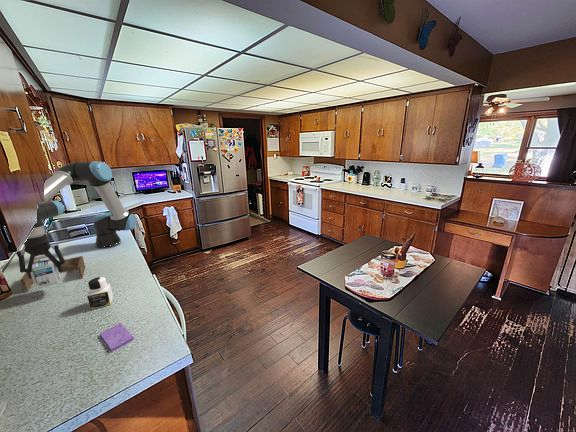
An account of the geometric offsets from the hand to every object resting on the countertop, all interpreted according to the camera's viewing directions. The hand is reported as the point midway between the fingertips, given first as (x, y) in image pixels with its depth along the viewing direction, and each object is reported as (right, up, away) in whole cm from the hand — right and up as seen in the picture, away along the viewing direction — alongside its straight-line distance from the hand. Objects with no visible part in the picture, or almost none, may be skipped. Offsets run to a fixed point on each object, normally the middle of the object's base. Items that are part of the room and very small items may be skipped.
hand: (48, 280), depth 112 cm
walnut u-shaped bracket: (-10, -3, +15) cm, 18 cm away
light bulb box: (0, -1, 0) cm, 1 cm away
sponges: (+52, -14, -26) cm, 60 cm away
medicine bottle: (+31, -8, -6) cm, 33 cm away
